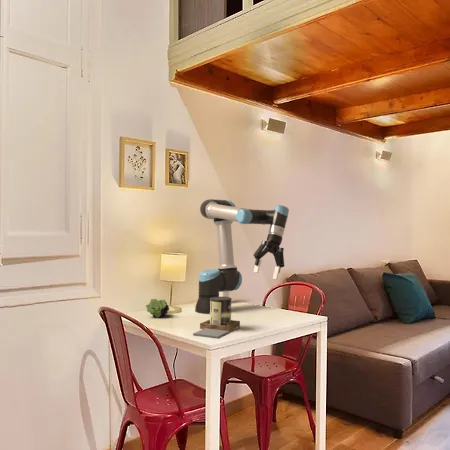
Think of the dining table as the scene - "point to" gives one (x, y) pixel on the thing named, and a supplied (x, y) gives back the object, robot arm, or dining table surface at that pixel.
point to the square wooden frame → (230, 327)
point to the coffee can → (220, 311)
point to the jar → (224, 294)
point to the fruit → (157, 308)
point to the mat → (211, 333)
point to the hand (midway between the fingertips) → (265, 275)
